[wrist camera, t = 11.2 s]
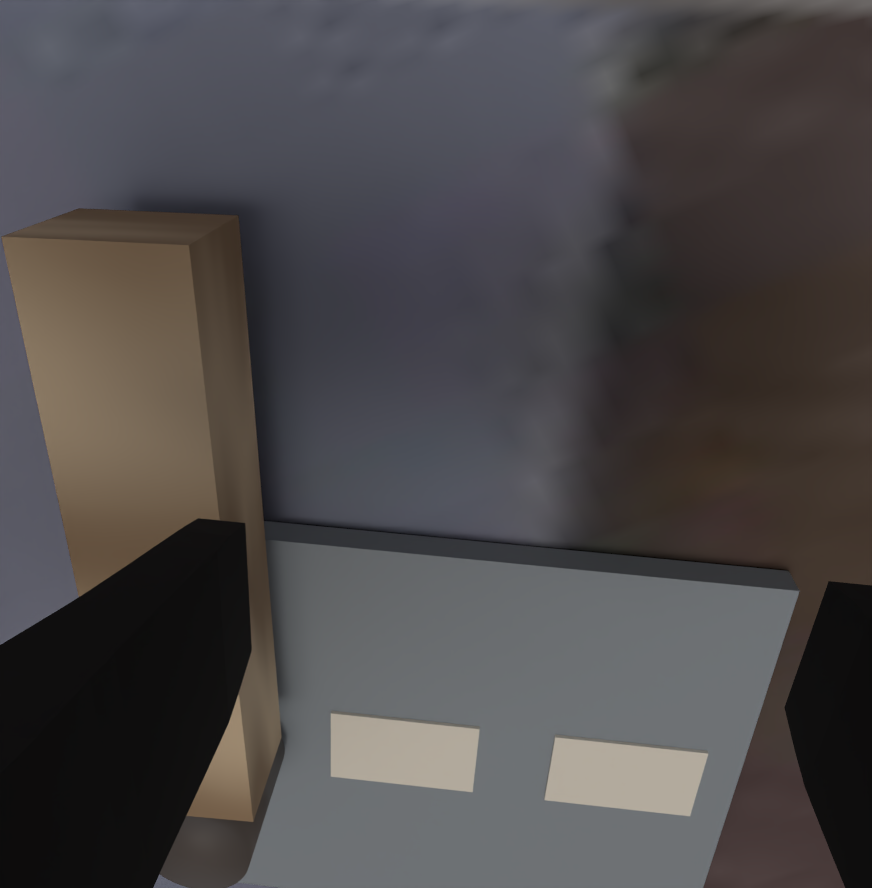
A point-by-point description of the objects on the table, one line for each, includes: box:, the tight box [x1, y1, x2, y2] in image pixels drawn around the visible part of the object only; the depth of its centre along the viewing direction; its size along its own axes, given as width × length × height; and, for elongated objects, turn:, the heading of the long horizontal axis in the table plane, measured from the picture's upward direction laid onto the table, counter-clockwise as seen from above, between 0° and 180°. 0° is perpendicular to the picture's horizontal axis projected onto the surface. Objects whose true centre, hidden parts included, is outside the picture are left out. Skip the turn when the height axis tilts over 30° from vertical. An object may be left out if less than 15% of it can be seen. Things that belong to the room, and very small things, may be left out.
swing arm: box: [2, 208, 285, 888], centre depth 17 cm, size 16×3×3 cm, turn 179°
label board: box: [237, 521, 799, 888], centre depth 22 cm, size 15×13×1 cm
